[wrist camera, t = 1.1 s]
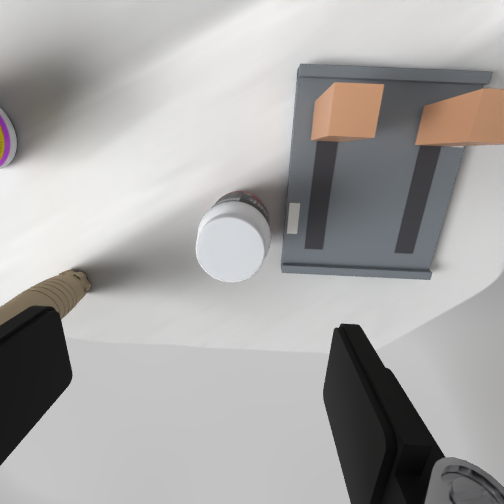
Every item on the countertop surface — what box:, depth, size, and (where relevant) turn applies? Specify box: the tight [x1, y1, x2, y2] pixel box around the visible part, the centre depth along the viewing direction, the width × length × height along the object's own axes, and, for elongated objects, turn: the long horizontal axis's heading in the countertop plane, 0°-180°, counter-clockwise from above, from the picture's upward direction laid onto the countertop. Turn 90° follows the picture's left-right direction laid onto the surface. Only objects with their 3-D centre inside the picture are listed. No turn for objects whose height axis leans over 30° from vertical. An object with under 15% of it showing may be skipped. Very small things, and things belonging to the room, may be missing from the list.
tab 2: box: [415, 88, 504, 147], centre depth 20 cm, size 3×3×6 cm
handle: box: [0, 270, 91, 325], centre depth 23 cm, size 5×6×15 cm
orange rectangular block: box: [311, 82, 384, 142], centre depth 20 cm, size 3×3×6 cm
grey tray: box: [281, 64, 492, 280], centre depth 25 cm, size 18×15×2 cm
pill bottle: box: [196, 191, 271, 282], centre depth 22 cm, size 6×6×10 cm
